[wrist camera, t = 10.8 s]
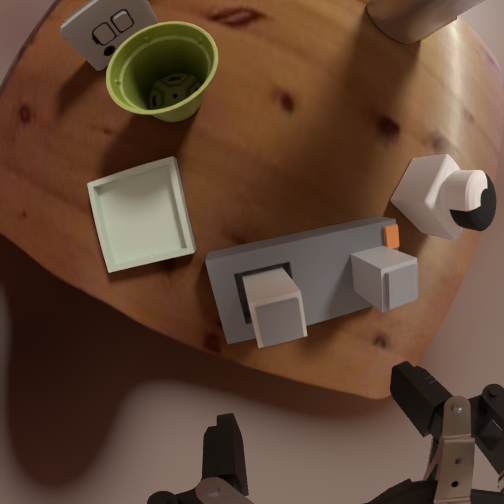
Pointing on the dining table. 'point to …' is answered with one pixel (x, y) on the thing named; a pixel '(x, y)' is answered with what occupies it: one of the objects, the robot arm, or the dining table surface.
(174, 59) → the plant pot
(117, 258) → the tray
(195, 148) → the dining table surface
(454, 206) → the medicine bottle
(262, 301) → the plug
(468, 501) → the robot arm
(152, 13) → the electrical switch
